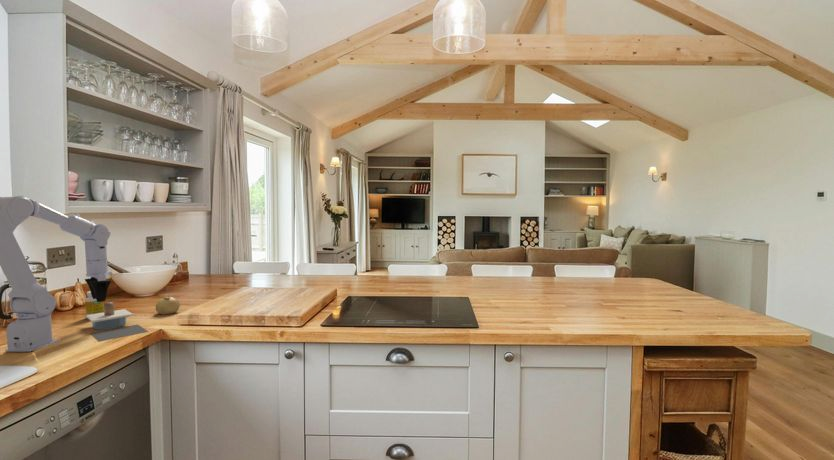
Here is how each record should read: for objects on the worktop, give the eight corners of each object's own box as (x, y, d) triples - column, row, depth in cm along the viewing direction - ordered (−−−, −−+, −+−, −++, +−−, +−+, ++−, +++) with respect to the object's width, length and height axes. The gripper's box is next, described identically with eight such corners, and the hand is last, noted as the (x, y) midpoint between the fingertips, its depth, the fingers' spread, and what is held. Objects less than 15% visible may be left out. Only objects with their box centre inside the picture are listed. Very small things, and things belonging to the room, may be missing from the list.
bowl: (111, 330, 139) (111, 319, 138) (86, 330, 139) (85, 319, 139) (132, 322, 148) (131, 312, 147) (108, 322, 148) (107, 313, 148)
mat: (148, 332, 135) (148, 331, 135) (98, 342, 126) (98, 341, 126) (137, 325, 144) (137, 324, 144) (90, 334, 134) (90, 333, 134)
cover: (132, 315, 144) (132, 302, 143) (92, 322, 136) (91, 308, 135) (124, 310, 151) (123, 297, 151) (86, 316, 143) (85, 303, 143)
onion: (150, 316, 157) (149, 297, 157) (168, 310, 165) (167, 292, 164) (167, 317, 155) (166, 298, 154) (185, 311, 162) (184, 293, 162)
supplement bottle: (94, 319, 153) (92, 293, 153) (82, 319, 155) (80, 292, 154) (108, 315, 159) (106, 290, 158) (96, 315, 160) (94, 289, 159)
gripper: (115, 260, 139) (118, 300, 140) (106, 257, 150) (108, 295, 150) (89, 262, 134) (91, 304, 135) (81, 259, 144) (83, 298, 145)
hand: (99, 299), depth 142 cm, fingers open, 7 cm apart
